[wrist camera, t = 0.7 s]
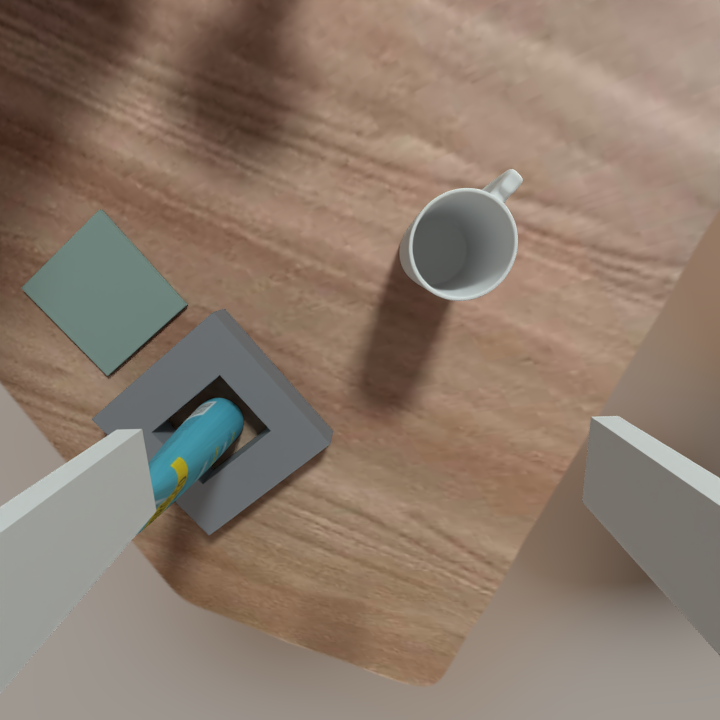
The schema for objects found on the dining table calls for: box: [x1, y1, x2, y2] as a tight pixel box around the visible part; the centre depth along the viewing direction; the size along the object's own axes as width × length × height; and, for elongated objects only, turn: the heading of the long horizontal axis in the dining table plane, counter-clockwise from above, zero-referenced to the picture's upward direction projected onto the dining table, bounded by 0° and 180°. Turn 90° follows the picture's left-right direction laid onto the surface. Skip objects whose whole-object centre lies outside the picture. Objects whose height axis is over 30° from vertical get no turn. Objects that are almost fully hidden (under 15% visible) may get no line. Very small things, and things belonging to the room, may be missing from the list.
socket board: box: [92, 309, 333, 536], centre depth 39 cm, size 16×16×3 cm
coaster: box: [22, 210, 187, 376], centre depth 38 cm, size 11×11×1 cm
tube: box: [136, 398, 244, 535], centre depth 32 cm, size 7×5×19 cm, turn 146°
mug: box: [399, 169, 523, 301], centre depth 31 cm, size 10×7×12 cm, turn 141°
